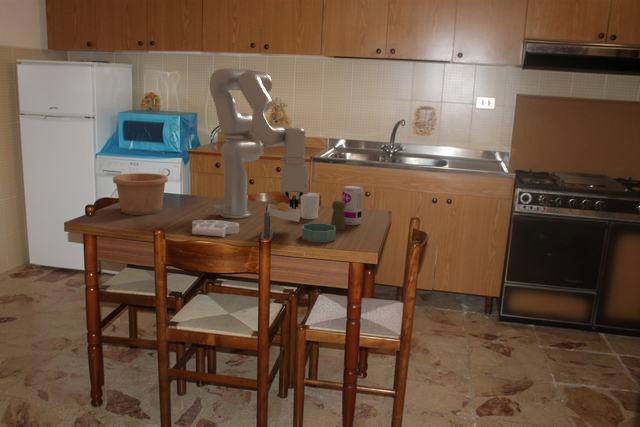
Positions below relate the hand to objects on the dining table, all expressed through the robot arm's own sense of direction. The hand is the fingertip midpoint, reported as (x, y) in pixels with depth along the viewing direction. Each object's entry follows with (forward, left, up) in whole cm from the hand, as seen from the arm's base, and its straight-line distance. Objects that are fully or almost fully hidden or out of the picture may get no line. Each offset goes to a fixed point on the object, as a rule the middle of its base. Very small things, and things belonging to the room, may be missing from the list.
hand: (293, 208), depth 224 cm
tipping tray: (-4, -5, -1) cm, 7 cm away
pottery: (-65, +26, -9) cm, 70 cm away
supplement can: (+23, +14, -9) cm, 28 cm away
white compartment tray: (-30, -5, -9) cm, 31 cm away
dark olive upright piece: (+17, +5, -9) cm, 20 cm away
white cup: (+6, +22, -9) cm, 24 cm away
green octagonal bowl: (+9, -10, -8) cm, 16 cm away
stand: (-10, -10, -8) cm, 16 cm away
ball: (-4, -10, +3) cm, 11 cm away
